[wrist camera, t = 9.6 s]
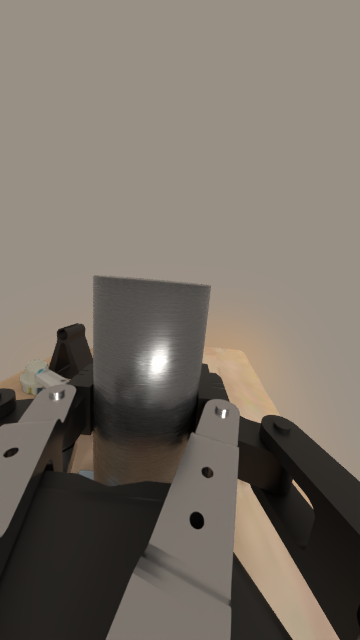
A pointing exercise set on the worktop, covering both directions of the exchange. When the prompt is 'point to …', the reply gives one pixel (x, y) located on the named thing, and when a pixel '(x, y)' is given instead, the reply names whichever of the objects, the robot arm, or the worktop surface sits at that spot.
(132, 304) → the steel axle
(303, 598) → the worktop surface
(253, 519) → the worktop surface
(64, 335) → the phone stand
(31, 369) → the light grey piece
